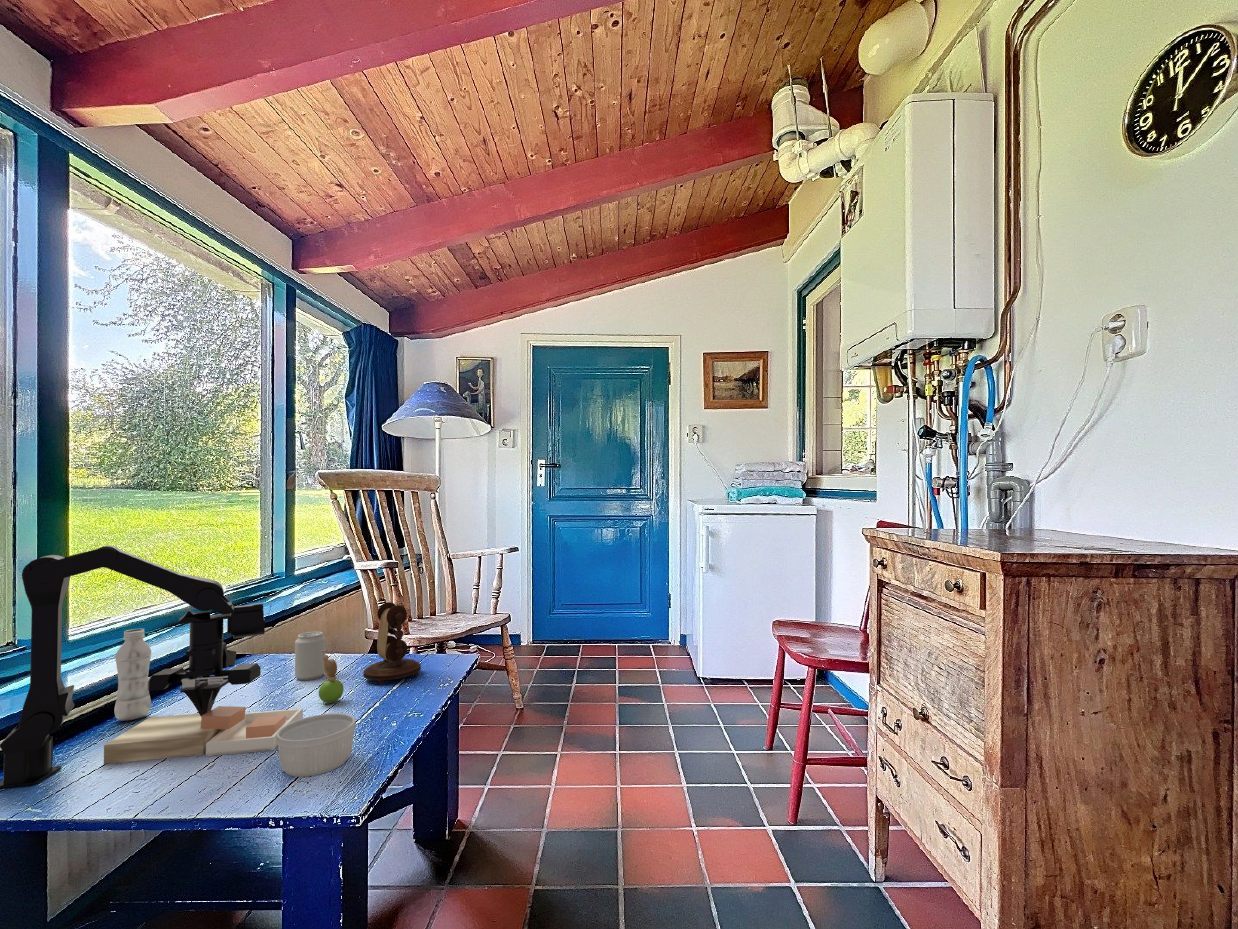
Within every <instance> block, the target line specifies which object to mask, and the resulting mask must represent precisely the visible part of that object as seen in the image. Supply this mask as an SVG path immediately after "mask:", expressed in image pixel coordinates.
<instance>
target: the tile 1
mask: <svg viewBox="0 0 1238 929" xmlns="http://www.w3.org/2000/svg"><path fill="white" fill-rule="evenodd" d="M245 713H246V706H227V705H225V706H223V705H218V706H217V707H214V708H213V709H211V711H209V712H207V713H206V714H204V715H202V717H201V729H230V728H231V727H233V726H234V725H236V724H238V723H239V722H241V721H242V720H244V719H245Z"/></svg>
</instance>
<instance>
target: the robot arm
mask: <svg viewBox="0 0 1238 929" xmlns="http://www.w3.org/2000/svg"><path fill="white" fill-rule="evenodd" d="M102 568H104V569H108V570H112V571H113V572H116V573H119V574H120V575H121V574H122V575H124V576H126V577H129V578H132V579H135V580H138V581H140V582H142V583H145V584H148V585H150V586H153V587H156V588H158V589H161V590H163V591H166V592H169V593H170V594H172V595H173V596H176V597H177V598H178V599H179V600H181V602H182V601H183V602H184V603H186V604H188V605H189V606H190V607H192V608H194V609H196V610H198V611H202V612H193V611H192V610H191V609H188V610H186V612H185V614H183V615H182V616H181V617H179V620H178V624H180V625H182V624H189V648H188V650H186V651H185V657H189V660H188V662H189V663H188V666H189V667H188V670H185V669H184V667H176V668H164V669H162V670H161V671H160V670H159V672H156V673H154V674H152V675H151V676H150V677H148V690H149V692H151V691H160V690H161V691H163V690H166V688H168V687H169V686H170V684H179V683H181V684H182V685H181V686H182V687H181V689H180V690H179V693H181V694H182V693H184V694H185V695H186V697H187V698H188V699H189V700H190V701H191V702H192V704H193V706H194V707H195V709H196V711H197V714H200V716H201V717H202V715H204V714H206V713H207V712H209V711H211V710H213V709H212V708H213V707H214V704H215V701H216V699H217V697H218V695H219V692H220V691H221V689H222V688H223V687H225V686H226V685H228V684H230V685H232V686H235V685H237V686H239V685H246V684H251V683H252V682H253V681H254V680H256V679H258V678H260V676H261V673H262V672H261V669H262V668H261V666H260V665H259V664H258V663H257V662H252V663H240V664H238V665H235V664H236V660H237V659H236V657H237V653H238V652H237V651H235V650H230V649H228V648H227V642H224V620H226V619H227V620H226V627H227V628H226V634H227V635H230V636H233V639H240V638H247V637H254V636H255V637H256V636H262V635H265V631H266V630H265V628H266V620H265V617H264V616H265V614H264V604H263V602H256V603H252V604H245V605H233V603H232V601H229V599H228V598H227V597H226V596H225V592H224V588H223V585H222V584H221V583H220V582H218V581H216V580H214V579H209V578H205V577H201V576H196V575H189V574H184V573H181V572H178V571H175V570H172V569H170V568H168V567H165V566H162V565H159V564H157V563H155V562H151V561H150V560H146V559H144V558H142V557H139V556H136V555H135V554H131V553H129V552H127V551H124V550H122V549H120V548H119V547H117V546H116V545H115V546H114V545H111V544H110V545H108V544H107V545H104V546H100V547H98V548H96V549H91V550H89V551H84V552H79V553H76V554H71V555H68V556H62V555H57V554H50V555H45V556H41V557H38V558H36V559H33V560H31V561H29V563H27V564H26V565H25V566H24V567H23V569H22V572H21V579H22V583H23V589H24V592H25V595H26V597H27V599H28V600H27V601H28V602H29V605H30V608H31V624H30V625H31V626H30V627H31V628H30V631H31V633H30V635H31V636H30V671H29V672H30V676H29V678H30V679H29V681H30V682H29V688H28V690H27V694H26V696H25V700H24V703H23V706H22V710H21V714H20V718H19V722H18V724H17V725H16V727H14V728H12V730H11V731H10V733H8V735H7V736H6V737H5V738H4V739H3V740H2V742H1V743H0V749H1V751H2V753H3V777H2V780H1V781H0V789H4V788H14V787H26V786H27V787H28V786H34V785H36V784H38V783H40V782H42V781H43V780H45V779H47V778H48V777H50V776H52V775H53V774H55V773H57V772H58V771H60V770H62V766H61V765H57V766H56V765H55V766H53V765H54V760H53V759H54V743H53V740H54V739H53V738H54V736H53V735H52V734H53V733H55V732H56V731H58V730H59V728H60V727H61V726H62V724H63V723H64V721H65V720H66V718H67V717H68V715H69V714H70V713H71V712H72V710H73V708H74V707H75V706H76V705H75V702H74V701H73V694H74V690H75V685H73V684H72V685H68V686H65V685H64V682H63V680H62V642H63V641H62V637H63V635H62V634H63V630H62V629H63V603H64V599H65V596H66V593H67V591H68V588H69V584H70V580H71V577H72V576H73V577H74V576H77V575H81V574H84V573H87V572H90V571H94V570H97V569H102ZM211 611H213V612H216V613H218V614H211ZM227 668H232V669H227Z"/></svg>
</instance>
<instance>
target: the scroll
mask: <svg viewBox="0 0 1238 929" xmlns="http://www.w3.org/2000/svg"><path fill="white" fill-rule="evenodd" d="M376 615H377V618H378V620H379V625H378V631H377V642H376V643H377V644H376V650H377V652H376V653H377V654H378V656H379V657H380V658H381V659H383V660H380V661H378V662H374V663H372V664H370V665H368V667H366V668H364V669H363V674H362V675H363V676H362V677H364V679H367V680H369V681H379V685H380V686H383V684H384V683H385V681H390V680H391V681H392V680H397V679H402V678H406V677H410V676H413V675H414V677H415V678H417V677H418V675H419V672H420V671H421V669H422V666H421V662H419V661H416V660H414V659H411V658H404V657H405V656H406V655H407V652H408V644H407V642H406V641H405V640H402V639H403V637H404V631H403V630H402V629H403V624H404V623H405V622H406V620H407V618H408V617H407V616H408V611H407V609H406V608H405V607H404V606H403V605H398V604H395V603H393V602H390V601H388V602H387V601H386V602H385V603H382V605H380V606H379V608H378V609H377V614H376ZM388 634H389V635H388Z"/></svg>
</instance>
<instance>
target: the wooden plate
mask: <svg viewBox="0 0 1238 929" xmlns="http://www.w3.org/2000/svg"><path fill="white" fill-rule="evenodd" d="M222 730H223V729H201V716H200V714H199V713H189V714H179V715H178V714H177V715H176V714H175V715H164V716H163V715H161V716H151V717H148V718H146V719H145V720H143V721H141V722H140V723H137V724H136V725H135V726H133V727H131V728H130V729H128V730H126V731H125V732H123V733H121V734H120V735H118V736H116V737H115V738H113V739H111V740H110V741H108V742H106V743H104V745H103V764H104V765H105V764H115V763H125V762H137V761H149V760H157V759H158V760H159V759H168V758H170V759H171V758H182V757H191V756H192V755H194V756H203V755H204V754H206V743H207V742H208V741H210V740H211V739H212V738H213V737H215V736H216V735H217V734H218V733H220V732H221V731H222ZM199 754H201V755H199ZM202 754H203V755H202Z"/></svg>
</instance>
